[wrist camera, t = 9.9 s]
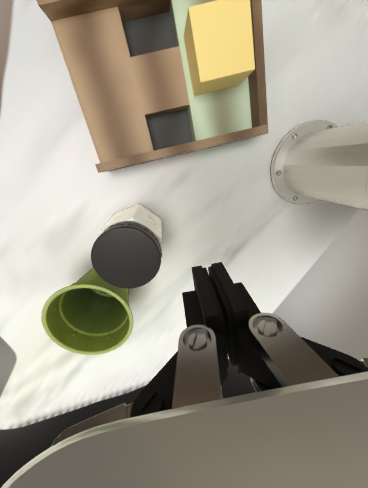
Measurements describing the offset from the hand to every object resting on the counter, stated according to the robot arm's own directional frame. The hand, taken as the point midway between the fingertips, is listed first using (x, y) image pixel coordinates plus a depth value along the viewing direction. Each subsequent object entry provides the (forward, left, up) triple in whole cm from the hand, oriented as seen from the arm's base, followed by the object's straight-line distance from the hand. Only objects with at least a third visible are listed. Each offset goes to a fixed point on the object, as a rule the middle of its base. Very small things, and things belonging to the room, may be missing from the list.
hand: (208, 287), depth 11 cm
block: (-8, -17, -22) cm, 29 cm away
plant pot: (+16, +11, -25) cm, 31 cm away
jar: (+8, +3, -25) cm, 26 cm away
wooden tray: (-2, -16, -25) cm, 29 cm away
